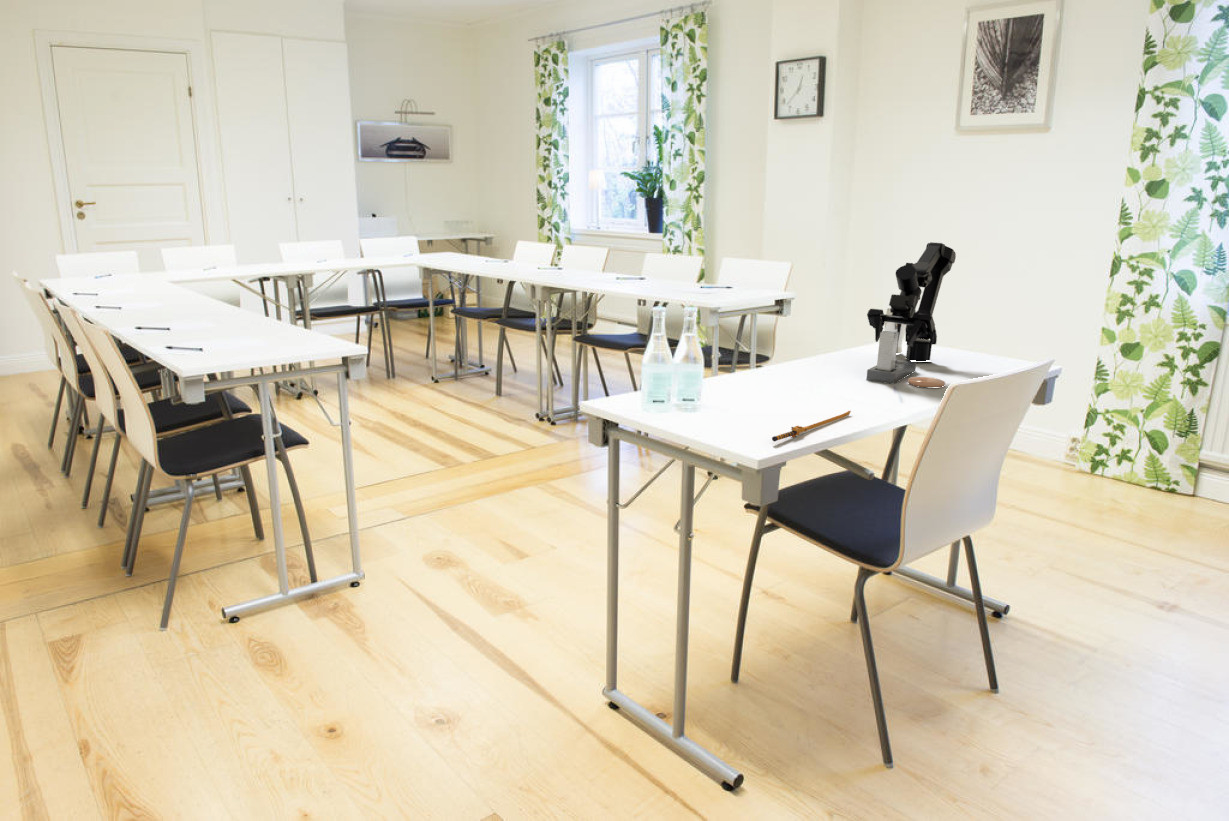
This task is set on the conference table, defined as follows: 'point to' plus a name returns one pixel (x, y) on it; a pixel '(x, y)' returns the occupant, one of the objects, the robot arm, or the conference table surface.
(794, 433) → the katana
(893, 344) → the steel peg
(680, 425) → the conference table surface
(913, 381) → the terracotta coaster
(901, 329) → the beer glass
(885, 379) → the rack rail
